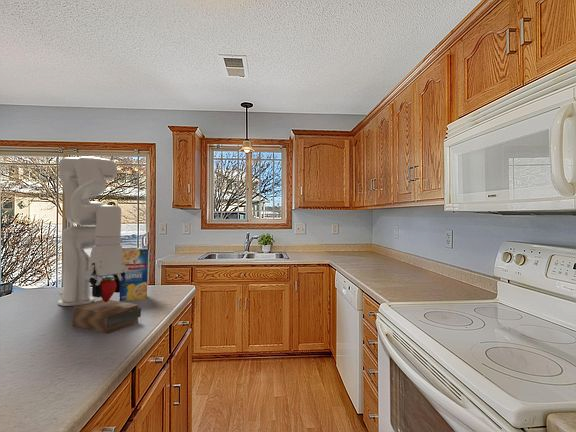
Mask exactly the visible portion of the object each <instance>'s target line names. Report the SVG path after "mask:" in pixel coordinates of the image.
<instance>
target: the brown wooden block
mask: <svg viewBox="0 0 576 432" xmlns="http://www.w3.org/2000/svg"><path fill="white" fill-rule="evenodd" d="M141 308H142V307H139V304H137V303H130V302H124V301H119V300H112V299H109V300H108V302H104V301H103V299H101V300H98V301H93V302H91V303H88V304H83V305H76V306H73V307H72V326H74V327H78V328H83V329H87V330H92V331H95V332H101V333H104V334H109V333H111V332H114V331H117V330H120V329H122V328H125V327H128V326H131V325H134V324H136V323H139V318H141V316H142V309H141Z"/></svg>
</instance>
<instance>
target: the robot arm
mask: <svg viewBox="0 0 576 432" xmlns="http://www.w3.org/2000/svg"><path fill="white" fill-rule="evenodd" d="M58 162H59V163H58V175H59V180H60V182H61V184H62V186H63V189H64V210H65V211H64V212H65V219H66V220H67V221H68V223H72V224H76V225H75V226H74V225H73V226H69V227H66V228H64V229H63V231H62V232H61V242H62V249H63V279H62V283H63V284H62V291H60V292H59V296H61V299H59V300H58V301H57V305H58V306H61V307H62V306H63V307H72V306H73V307H76V306H80V305H84V304H88V303H92V302H95V298H101V285H99V284H100V282H101V279H102V278H104V277H106V276H107V277H108V276H112V278H117V279H113V280H114V281H115V282H116V284H117V287H116V290H115V292H114V293H117V294H120V281H122V278H123V276H124V275H125V273H126V272H127V270H128V268H127V267H126V266H125V265H124V264H123V250H122V248H123V247H122V245H121V242H123V239H124V238H122V237H121V236H122V235H121V232H122V208H121V206H119V205H112V204H111V205H110V204H106V203H105V202H102V201H91V200H90V199H92V198H95V197H98V196H100V195H103V193H105V191H106V189H107V184H106V181H113V180H115V178H116V177H117V175H118V167H117V164H116V163H115V161H114V160H112V159H110V158H103V157H96V156H86V155H85V156H81V157H76V156H75V157H72V156H71V157H67V156H66V157H63V158H61V159H60V161H58ZM90 249H91V251H90V255H89V254H88V253H87V252H86V251H85V250H90ZM91 287H92V288H91ZM91 289H92V291H91ZM91 295H92V296H91Z"/></svg>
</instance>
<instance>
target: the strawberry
mask: <svg viewBox="0 0 576 432" xmlns="http://www.w3.org/2000/svg"><path fill="white" fill-rule="evenodd" d="M114 279H117V278H113V276H112V277H111V276H110V277H108V276H104V277H102V279H101V282H100V284H99V285H101V297H100V298H101V300H103V301H104V302H108V300H111V298H112V296H113V295H114V294H115V293H116V292H115V290H116V287H117V284H116V282H115V281H114Z"/></svg>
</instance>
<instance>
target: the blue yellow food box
mask: <svg viewBox="0 0 576 432" xmlns="http://www.w3.org/2000/svg"><path fill="white" fill-rule="evenodd" d="M122 250H123V264H124V265H125V266H126V267H127V268H128V270H127V272H126V273H125V275H124V276H123V278H122V281H120V292H119V297H120V298H119V300H118V301H120V302H124V301H135V300H146V299H148V278H149V277H148V273H149V272H148V269H149V248H148V247H122Z"/></svg>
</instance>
